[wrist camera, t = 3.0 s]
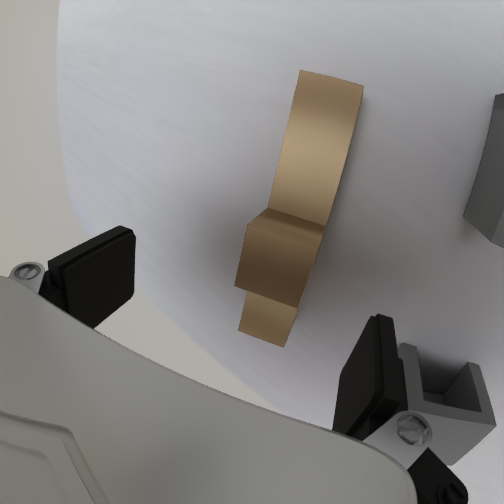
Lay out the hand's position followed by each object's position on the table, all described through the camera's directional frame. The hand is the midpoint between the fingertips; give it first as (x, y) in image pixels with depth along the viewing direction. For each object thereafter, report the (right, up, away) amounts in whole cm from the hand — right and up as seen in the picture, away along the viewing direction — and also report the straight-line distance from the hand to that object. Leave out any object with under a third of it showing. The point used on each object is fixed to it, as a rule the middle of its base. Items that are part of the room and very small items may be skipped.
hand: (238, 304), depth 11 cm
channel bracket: (+14, -8, +8) cm, 18 cm away
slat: (+4, +4, +7) cm, 9 cm away
